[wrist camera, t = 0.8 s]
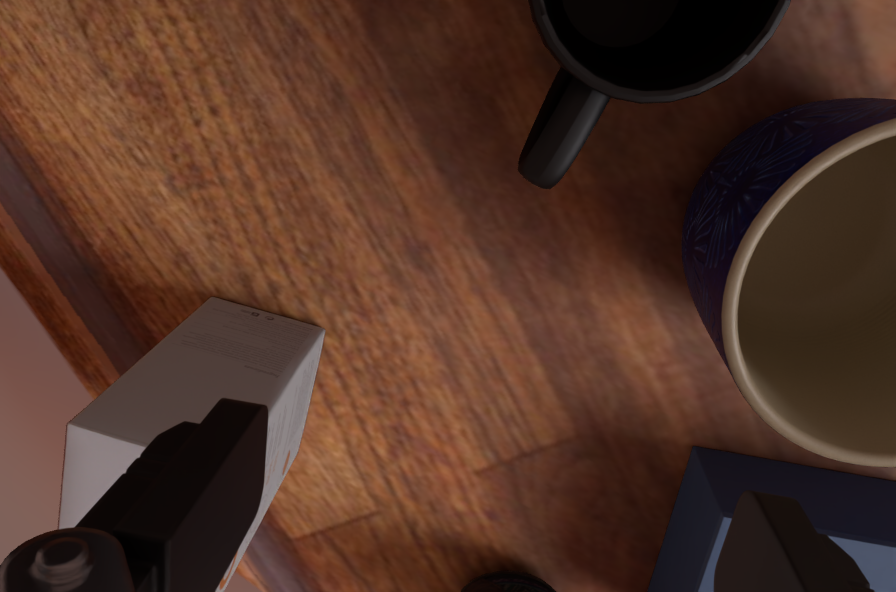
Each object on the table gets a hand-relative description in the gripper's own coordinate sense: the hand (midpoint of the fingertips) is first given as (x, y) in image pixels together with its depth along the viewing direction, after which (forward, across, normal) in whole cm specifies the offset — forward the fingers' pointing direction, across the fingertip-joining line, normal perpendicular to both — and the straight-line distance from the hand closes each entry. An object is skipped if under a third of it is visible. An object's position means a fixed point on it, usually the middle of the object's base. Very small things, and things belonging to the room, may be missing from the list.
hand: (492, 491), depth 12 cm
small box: (+24, +12, +12) cm, 29 cm away
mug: (+24, -2, -8) cm, 25 cm away
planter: (+24, -14, -1) cm, 27 cm away
